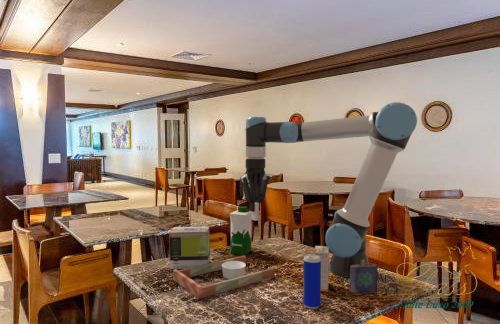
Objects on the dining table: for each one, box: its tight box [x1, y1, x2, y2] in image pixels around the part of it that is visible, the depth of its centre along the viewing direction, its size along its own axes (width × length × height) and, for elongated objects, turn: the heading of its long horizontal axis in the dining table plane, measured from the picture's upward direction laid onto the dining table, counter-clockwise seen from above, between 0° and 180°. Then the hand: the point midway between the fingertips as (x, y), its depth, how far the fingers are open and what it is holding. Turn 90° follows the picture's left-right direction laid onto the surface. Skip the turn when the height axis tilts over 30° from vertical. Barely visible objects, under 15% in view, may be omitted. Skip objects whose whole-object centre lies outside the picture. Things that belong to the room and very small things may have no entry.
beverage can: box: [302, 253, 322, 310], centre depth 109 cm, size 5×5×15 cm
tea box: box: [168, 225, 211, 270], centre depth 144 cm, size 15×10×15 cm
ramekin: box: [221, 261, 247, 280], centre depth 133 cm, size 9×9×4 cm
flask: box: [349, 259, 379, 295], centre depth 119 cm, size 9×3×11 cm, turn 96°
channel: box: [172, 255, 276, 299], centre depth 131 cm, size 19×31×4 cm, turn 126°
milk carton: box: [229, 205, 252, 256], centre depth 161 cm, size 9×9×20 cm
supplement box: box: [314, 245, 330, 293], centre depth 123 cm, size 8×5×13 cm, turn 168°
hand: (254, 219), depth 138 cm, fingers closed
